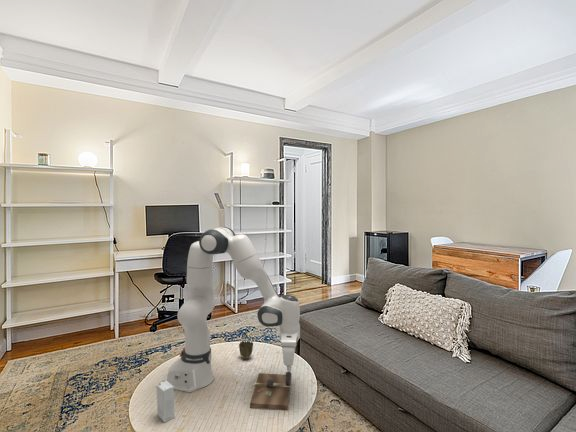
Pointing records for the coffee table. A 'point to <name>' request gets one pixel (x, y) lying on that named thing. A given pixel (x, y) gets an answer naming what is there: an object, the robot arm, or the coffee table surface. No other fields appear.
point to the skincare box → (165, 401)
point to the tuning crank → (271, 384)
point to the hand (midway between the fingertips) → (289, 365)
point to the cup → (246, 349)
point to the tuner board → (270, 393)
